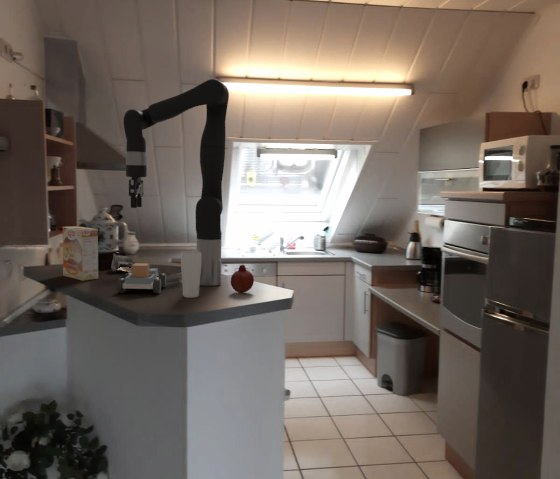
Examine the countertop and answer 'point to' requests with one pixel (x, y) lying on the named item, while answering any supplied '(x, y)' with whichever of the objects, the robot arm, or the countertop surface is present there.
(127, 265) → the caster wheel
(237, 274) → the fruit
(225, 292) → the countertop surface
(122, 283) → the chassis
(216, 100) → the robot arm
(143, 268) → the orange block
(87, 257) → the coffeecake box
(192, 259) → the drinking glass
